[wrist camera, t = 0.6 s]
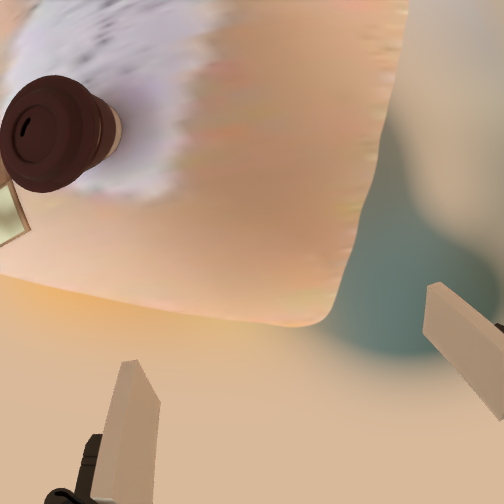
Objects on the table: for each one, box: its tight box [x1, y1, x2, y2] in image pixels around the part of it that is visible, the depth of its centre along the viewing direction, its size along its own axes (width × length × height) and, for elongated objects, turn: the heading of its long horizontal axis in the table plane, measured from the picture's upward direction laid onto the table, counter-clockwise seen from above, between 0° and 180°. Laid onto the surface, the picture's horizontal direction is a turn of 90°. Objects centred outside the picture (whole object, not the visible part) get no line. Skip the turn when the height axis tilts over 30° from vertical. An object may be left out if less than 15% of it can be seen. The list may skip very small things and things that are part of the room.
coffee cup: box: [0, 75, 122, 193], centre depth 26 cm, size 10×10×15 cm
